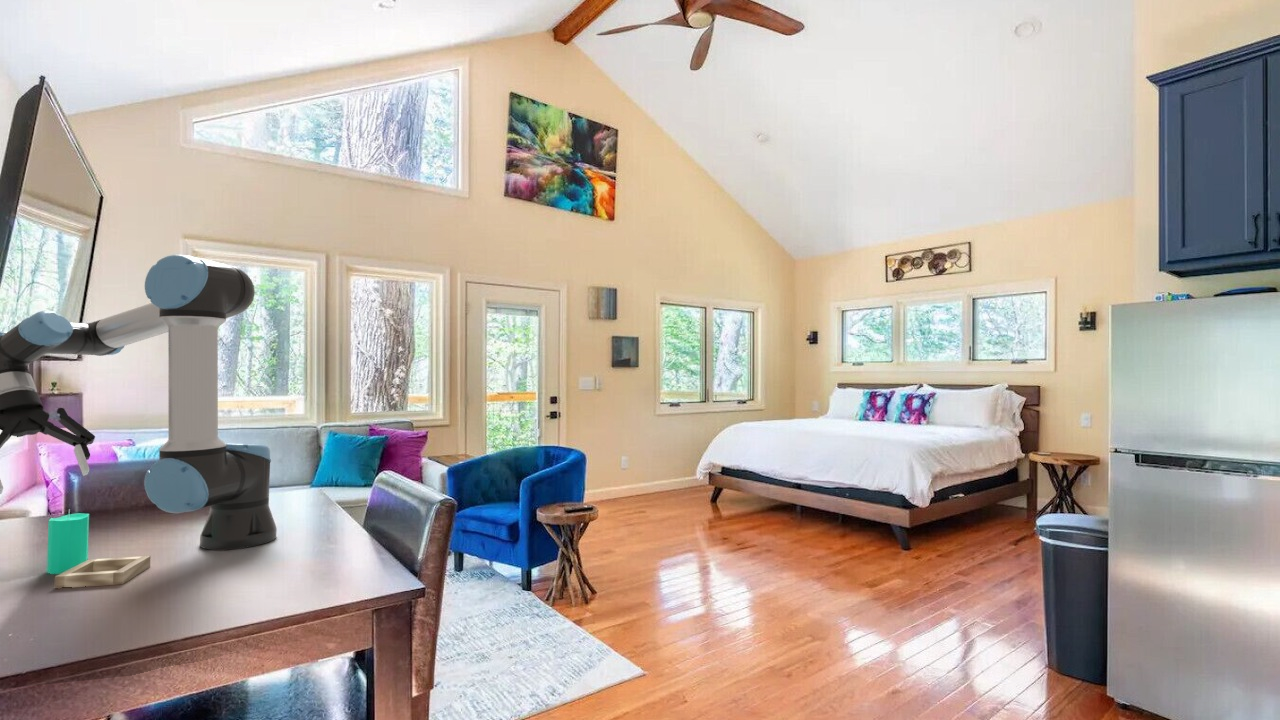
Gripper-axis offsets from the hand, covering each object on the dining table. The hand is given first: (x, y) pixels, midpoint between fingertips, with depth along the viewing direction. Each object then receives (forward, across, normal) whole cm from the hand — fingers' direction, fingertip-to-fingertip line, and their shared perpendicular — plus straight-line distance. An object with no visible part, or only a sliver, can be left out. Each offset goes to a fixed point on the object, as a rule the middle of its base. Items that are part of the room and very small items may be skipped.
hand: (45, 481), depth 129 cm
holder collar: (+27, -1, +11) cm, 30 cm away
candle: (+21, +2, +2) cm, 21 cm away
